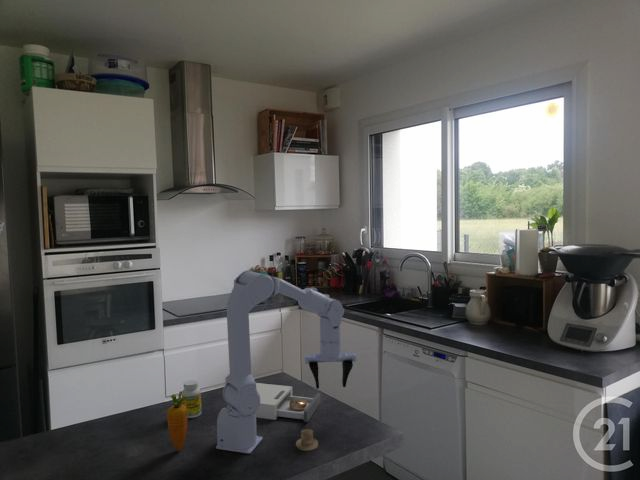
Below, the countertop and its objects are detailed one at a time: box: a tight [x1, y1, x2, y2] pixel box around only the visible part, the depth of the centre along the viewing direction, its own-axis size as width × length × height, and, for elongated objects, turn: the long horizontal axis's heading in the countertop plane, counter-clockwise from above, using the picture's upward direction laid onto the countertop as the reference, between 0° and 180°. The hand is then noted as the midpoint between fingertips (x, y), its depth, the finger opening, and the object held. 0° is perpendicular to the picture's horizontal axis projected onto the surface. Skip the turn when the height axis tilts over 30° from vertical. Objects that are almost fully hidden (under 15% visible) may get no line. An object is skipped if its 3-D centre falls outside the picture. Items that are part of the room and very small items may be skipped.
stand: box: [295, 428, 319, 452], centre depth 119 cm, size 6×6×4 cm
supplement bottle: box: [181, 379, 203, 419], centre depth 138 cm, size 5×5×10 cm
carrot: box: [166, 390, 189, 452], centre depth 117 cm, size 5×5×15 cm
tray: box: [277, 392, 322, 423], centre depth 139 cm, size 13×13×3 cm
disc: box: [290, 399, 307, 411], centre depth 139 cm, size 5×5×2 cm
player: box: [255, 382, 293, 421], centre depth 142 cm, size 14×14×4 cm
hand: (330, 386), depth 136 cm, fingers open, 7 cm apart
